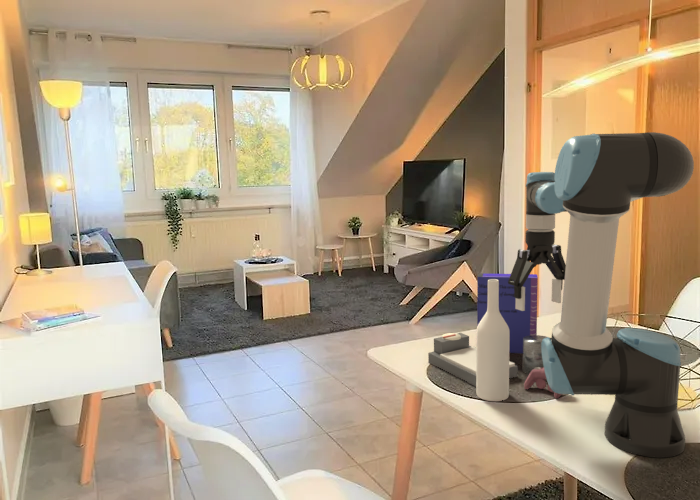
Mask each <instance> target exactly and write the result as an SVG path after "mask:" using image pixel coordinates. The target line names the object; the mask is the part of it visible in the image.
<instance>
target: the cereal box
mask: <svg viewBox="0 0 700 500" xmlns="http://www.w3.org/2000/svg"><path fill="white" fill-rule="evenodd" d="M510 275H511V273H477V283H476V284H477V285H476V286H477V296H476V297H477V298H476V299H477V301H476V302H477V303H476V305H477V306H476V307H477V310H476V311H477V312H476V313H477V315H476V316H477V318H476V319H477V322H476V323H477V325H476V326H478V324H479V323H480V321H481V319H482V318H483V317H484V315H485V314H486V312H487V306H488V280H489V279H497V280H499V312H500V314H501V315H502V317H503V319H504V320H505V322H506V324H507V325H508V327H509V332H510V343H509V354H515V355H516V354H517V355H523V338H524V337H526V336H530V335H538V334H537V333H538V328H537V327H538V325H537V323H538V289H539V288H538V278H539V277H538V274H536V273H535V274H533V273H530V274H529V276H528V278H527V280H526V281H525V283H524V285H523V287H525V311H521V310H518V309H515V304H516V298H515V297H514V286H513V285H510V284H508V281H509V278H510ZM513 281H514V280H513ZM519 282H520V281H519Z"/></svg>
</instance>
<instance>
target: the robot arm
mask: <svg viewBox="0 0 700 500" xmlns="http://www.w3.org/2000/svg"><path fill="white" fill-rule="evenodd" d="M694 163H695V162H694V157H693V155H692V152H691V151H690V149H689V148H688V146H687V145H686V144H684V143H683V142H682V141H681V140H680V139H678V138H676V137H674V136H672V135H669V134H666V133H661V132H656V131H655V132H654V131H653V132H649V131H648V132H626V133H624V132H623V133H590V134H584V135H576V136H575V135H574V136H571V137H570V138H568V139H567V140H566V141H565V142H564V144H563V145H562V147H561V149H560V151H559V153H558V156H557V160H556V164H555V169H554V172H553V171H536V172H534V171H533V172H529V173H528V174H527V176H526V183H525V190H526V192H525V193H526V197H525V201H526V202H525V203H526V204H525V208H526V209H525V228H526V231H525V238H524V239H525V241H524V243H525V244H526V247H527V248H526V249H520V248H519V249H518V250H517V257H516V260H515V263H514V266H513V268H512V270H511V273H510V274H511V275H510V278H509V281H508V284H510V285H513V286H514V297H515V298H516V304H515V309H518V310H521V311H525V287H523V285H524V283H525V281H526V280H527V278H528V276H529V274H532V271H533V269H534V268H536V267H537V265H538V266H539V265H542V264H544V265H546V267H547V269H548V270H549V271H550V272H551V275H552V276H553V278H552V279H551V302H552V303H556V304H561V312H560V313H561V315H560V322H558V323H556V324H555V325H554V326H553V328H552V331H551V337H549V336H546V337H547V338H544V339H543V340H542V343H541V350H542V359H543V365H544V371H545V375H546V378H547V379H546V381H547V383H548V384H549V386H550V388H551V389H552V390H553V391H554V392H555V393H558V394H562V395H571V396H575V395H595V396H596V395H599V396H600V395H601V396H602V395H612V396H614V395H615V396H614V402H613V404H612V406H611V409H610V410H609V414H608V415H607V418H606V420H605V422H604V423H605V424H604V436H605V438H606V440H607V441H608V442H609V443H610V444H612V445H613V446H615V447H617V448H619V449H620V450H622V451H625V452H627V453H631V454H634V455H638V456H642V457H646V458H647V457H649V458H670V457H675V456H678V455H680V454H682V453H683V452H684V451H685V447H686V446H685V445H686V434H685V431H684V428H683V426H682V425H683V424H682V421H681V418H680V415H679V412H678V401H679V387H680V374H681V373H680V372H681V366H682V362H681V347H680V345H679V344H678V342H677V341H676V340H674V339H673V338H671V337H669V336H667V335H665V334H662V333H659V332H656V331H651V330H648V329H641V328H633V327H632V328H631V327H625V328H620V329H619V330H618V331H617V333H616V337H613V335H612V333H611V332H610V330H609V329H608V328H607V321H608V313H609V306H610V298H611V297H610V296H611V288H612V280H613V272H614V265H615V257H616V247H617V239H618V233H619V232H618V231H619V223H620V218H621V217H623V216H624V215H625V214H627V213H628V212H630V208H631V202H634V201H636V200H640V199H643V198H652V197H654V198H655V197H656V198H657V197H663V196H664V197H665V196H667V195H671V194H673V193H677V192H678V191H680V190H681V189H683V188H684V187H685V186H686V185H687V184H688V183H689V181H690V180H691V178H692V176H693V172H694V166H695V164H694ZM563 212H565V213H566V212H567V213H568V214H569V227H568V238H567V249H566V259H564V256H563V254H562V246H561V245H560V244H555V240H556V237H555V236H556V231H555V228H556V214H557V215H558V214H560V213H563ZM513 280H514V281H513ZM519 281H520V282H519ZM563 282H564V283H563ZM562 290H563V291H562ZM562 293H563V294H562Z"/></svg>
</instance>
